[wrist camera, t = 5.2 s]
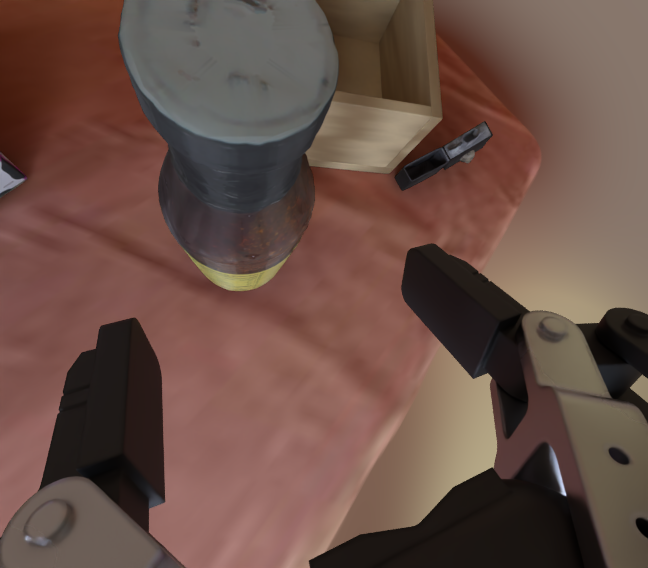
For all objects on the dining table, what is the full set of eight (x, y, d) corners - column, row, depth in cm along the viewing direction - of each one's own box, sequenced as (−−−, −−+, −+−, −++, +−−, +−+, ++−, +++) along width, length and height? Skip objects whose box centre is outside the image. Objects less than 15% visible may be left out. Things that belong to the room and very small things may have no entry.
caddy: (255, 160, 27) (263, 91, 19) (255, 20, 28) (263, -95, 21) (389, 174, 30) (442, 118, 22) (381, 46, 31) (429, -46, 24)
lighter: (405, 200, 32) (405, 193, 27) (395, 182, 32) (393, 172, 27) (486, 153, 30) (502, 137, 25) (475, 133, 30) (489, 113, 25)
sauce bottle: (232, 197, 26) (223, -188, 7) (297, 247, 26) (456, 30, 7) (174, 263, 24) (-59, -3, 5) (246, 314, 25) (281, 256, 6)
